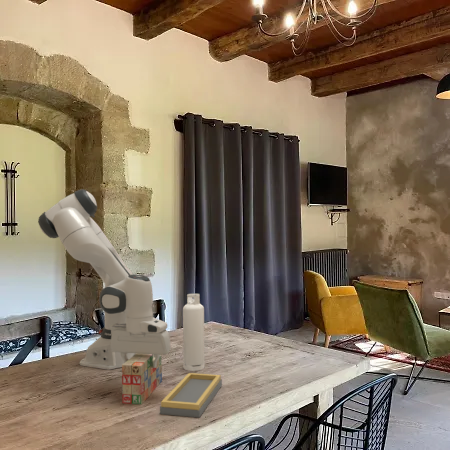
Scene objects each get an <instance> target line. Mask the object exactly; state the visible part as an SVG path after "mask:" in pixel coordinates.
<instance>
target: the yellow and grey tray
mask: <svg viewBox="0 0 450 450" xmlns="http://www.w3.org/2000/svg"><path fill="white" fill-rule="evenodd" d="M221 377H222V375H221V374H210V373H209V374H208V373H195V372H189V373H187V374H186V375H185V376H184V378H182V379H181V380H180V382H179V383H177V384H176V386H175V387H174V388H173V389H172V390H171V391H170V392H169V393H168V394H167V395H166V396H165V397H164V398H163V399H162V400H161V401H160V406H159V414H160V415H166V416H167V415H168V416H176V417H177V416H179V417H188V418H189V417H190V418H201V416H202V415H203V413H204V412H205V411H206V409H207V408H208V406H209V405H210V403H211V402H212V400H213V399H214V397H215V396H216V395H217V393H218V391H219V390H220V388H221V387H222V385H223V379H222V378H221Z"/></svg>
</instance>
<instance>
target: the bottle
mask: <svg viewBox="0 0 450 450" xmlns="http://www.w3.org/2000/svg"><path fill="white" fill-rule="evenodd" d="M186 296H187V297H186V299H187V301H186V302H187V303H186V304H185V305H184V306H183V308H182V341H183V343H182V344H183V345H182V346H183V350H182V352H183V353H182V355H183V357H182V359H183V365H182V366H183V368H182V369H184V370H185V371H187V372H188V371H189V372H190V371H191V372H198V371H202V370H204V369H205V307H204V305H202V304H201V301H200V300H201V299H200V297H201V296H200V293H188V294H187V295H186Z"/></svg>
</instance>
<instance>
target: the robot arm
mask: <svg viewBox="0 0 450 450" xmlns="http://www.w3.org/2000/svg"><path fill="white" fill-rule="evenodd" d="M97 211H98V205H97V201H96V198H95V197H94V195H93V194H92V193H90V192H89V191H87V190H86V189H84V188H83V189H78V190H75V191H74V193H71V194H69V195H67V196H65V197H64V198H62V199H60V200H59V201H58V202H57V203H55V204H54V205H53V206H51V207H50V208H48V209H47V210H46V211H44V212H43V213H41V215H40V216H39V217H38V222H37V223H38V226H39V228H40V230H41V232H42V233H43V234H45V236H47V237H48V238H50V239H57V238H58V239H59V240H60V242H61V244H62V245H63V247H64V248H65V250H66V252H67V253H68V254H69V255H70V257H72V258H73V259H74V260H77V261H79V262H83V263H87V264H90V266H91V267H92V268H93V269H94V271H95V272H96V273H97V275H98V276H99V277H100V279H101V280H102V282H103V283H104V287H103V288H102V290H101V291H100V294H99V297H98V301H99V306H100V308H101V310H102V311H103V312H104V327H103V328H101V329H99V331H98V334H100V337H98V338H97V339H96V340H95V341H94V342H93V343H91V344H90V345H89V346H88V347H87V349H86V354H85V357H83V358H82V359H81V360H80V361H79V366H83V367H91V368H97V369H103V370H113V369H119V368H122V364H124V363H125V362H126V361H128V360H129V359H130V358H131V357H132V356H134V355H135V354H136V353H137V354H153V355H154V358H155V359H154V361H152V362H151V368H156V367H157V361H158V359H159V357H160V355H161V356H166V355H168V353H170V352H171V337H170V333H169V331H168V330H167V329H168V323H167V322H166V321H163V320H161V319H158V318H155V317H154V312H153V303H154V297H153V296H154V295H153V293H154V292H153V285H152V281H151V279H150V278H149V277H148V276H146V275H144V274H134V273H133V272H132V270H130V268H129V267H128V266H127V265H126V263H125V262H124V261H123V259H122V257H121V256H120V254H119V253H118V251H117V250H116V249H115V247H114V245H113V244H112V242H111V241H110V240H109V238H108V237H107V236H106V234H105V233H104V232H103V230H102V229H101V227H100V226H99V225H98V223H97V222H96V221H95V220H94V219H93V218H95V215H96V212H97Z"/></svg>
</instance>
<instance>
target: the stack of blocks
mask: <svg viewBox="0 0 450 450" xmlns="http://www.w3.org/2000/svg"><path fill="white" fill-rule="evenodd" d="M154 359H155V358H154V354H138V353H136V354H135V355H134V356H132V357H131V358H130V359H129V360H128V361H126V362H125V363H124V364H122V367H121V383H122V384H121V385H122V386H121V387H122V400H121V401H122V404H130V405H131V404H133V405H142V404H143V403H144V402H145V401H146V400H147V399H148V398H149V397H150V396H151V394H152V393H153V392H154V390H156V388H157V387H158V386H159V385H160V384H161V383H162V382H163V364H162V355H160V357H159V359H158V361H157V367H156V368H151V362H152V361H154Z"/></svg>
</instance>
